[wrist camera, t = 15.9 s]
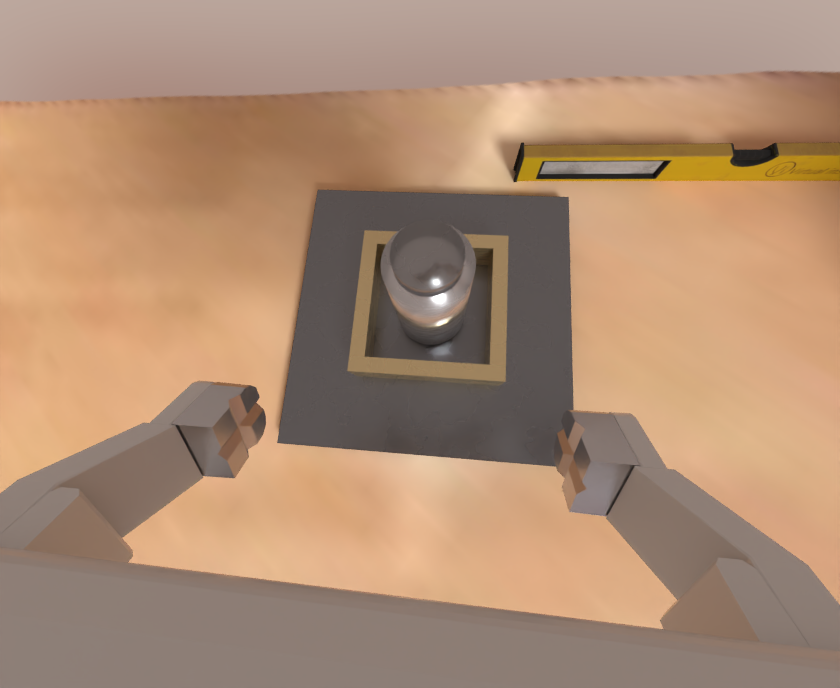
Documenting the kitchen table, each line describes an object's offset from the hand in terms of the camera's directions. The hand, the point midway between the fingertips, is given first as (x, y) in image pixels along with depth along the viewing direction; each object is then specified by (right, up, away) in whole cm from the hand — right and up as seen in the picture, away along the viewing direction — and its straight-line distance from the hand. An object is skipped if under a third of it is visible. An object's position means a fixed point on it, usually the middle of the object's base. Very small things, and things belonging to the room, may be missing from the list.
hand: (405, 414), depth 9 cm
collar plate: (+1, +4, +17) cm, 17 cm away
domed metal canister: (+1, +4, +16) cm, 16 cm away
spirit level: (+25, +15, +18) cm, 35 cm away
